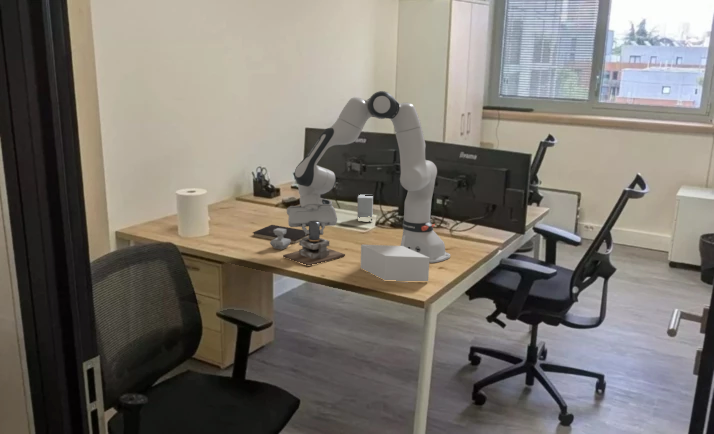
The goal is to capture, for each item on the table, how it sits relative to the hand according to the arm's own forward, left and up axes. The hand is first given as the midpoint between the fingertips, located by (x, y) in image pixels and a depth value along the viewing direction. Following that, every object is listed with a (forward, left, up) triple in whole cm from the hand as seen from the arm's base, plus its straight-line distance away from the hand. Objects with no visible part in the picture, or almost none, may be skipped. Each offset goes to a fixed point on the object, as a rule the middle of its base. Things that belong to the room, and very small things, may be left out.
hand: (314, 234), depth 270 cm
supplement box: (+27, -57, -10) cm, 64 cm away
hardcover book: (+33, -10, -11) cm, 36 cm away
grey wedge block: (-37, -8, -10) cm, 39 cm away
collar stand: (0, 0, -10) cm, 10 cm away
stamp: (+19, +3, -10) cm, 22 cm away
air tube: (+1, 0, -7) cm, 7 cm away
